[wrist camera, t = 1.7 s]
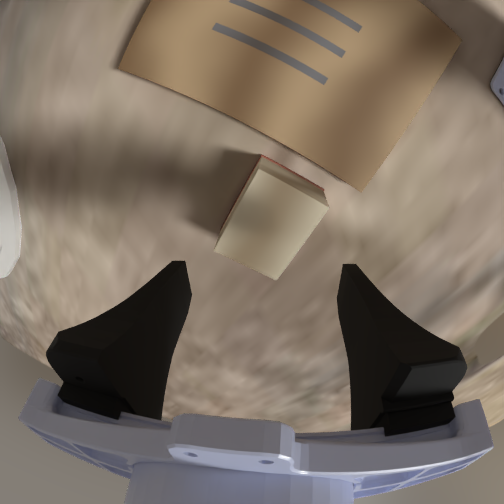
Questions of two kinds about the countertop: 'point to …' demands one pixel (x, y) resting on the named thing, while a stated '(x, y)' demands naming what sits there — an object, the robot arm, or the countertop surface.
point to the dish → (8, 217)
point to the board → (301, 69)
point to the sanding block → (271, 218)
